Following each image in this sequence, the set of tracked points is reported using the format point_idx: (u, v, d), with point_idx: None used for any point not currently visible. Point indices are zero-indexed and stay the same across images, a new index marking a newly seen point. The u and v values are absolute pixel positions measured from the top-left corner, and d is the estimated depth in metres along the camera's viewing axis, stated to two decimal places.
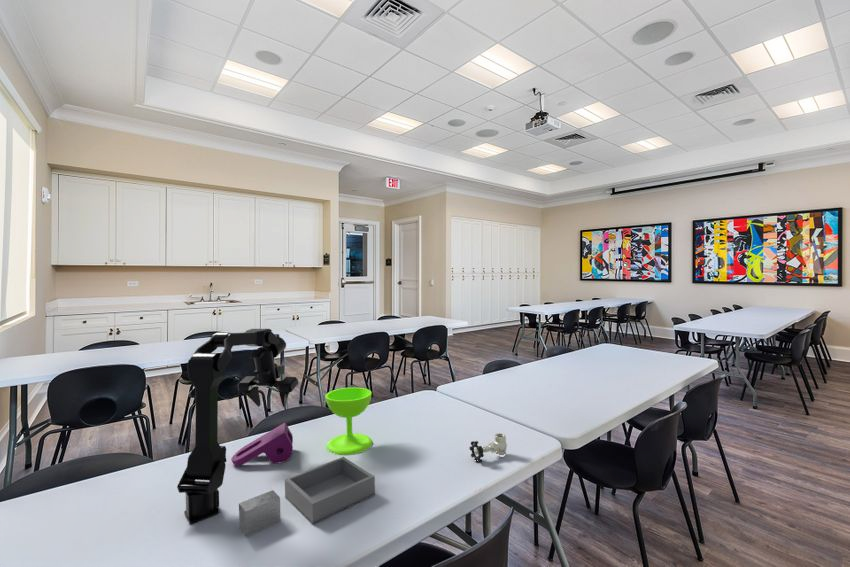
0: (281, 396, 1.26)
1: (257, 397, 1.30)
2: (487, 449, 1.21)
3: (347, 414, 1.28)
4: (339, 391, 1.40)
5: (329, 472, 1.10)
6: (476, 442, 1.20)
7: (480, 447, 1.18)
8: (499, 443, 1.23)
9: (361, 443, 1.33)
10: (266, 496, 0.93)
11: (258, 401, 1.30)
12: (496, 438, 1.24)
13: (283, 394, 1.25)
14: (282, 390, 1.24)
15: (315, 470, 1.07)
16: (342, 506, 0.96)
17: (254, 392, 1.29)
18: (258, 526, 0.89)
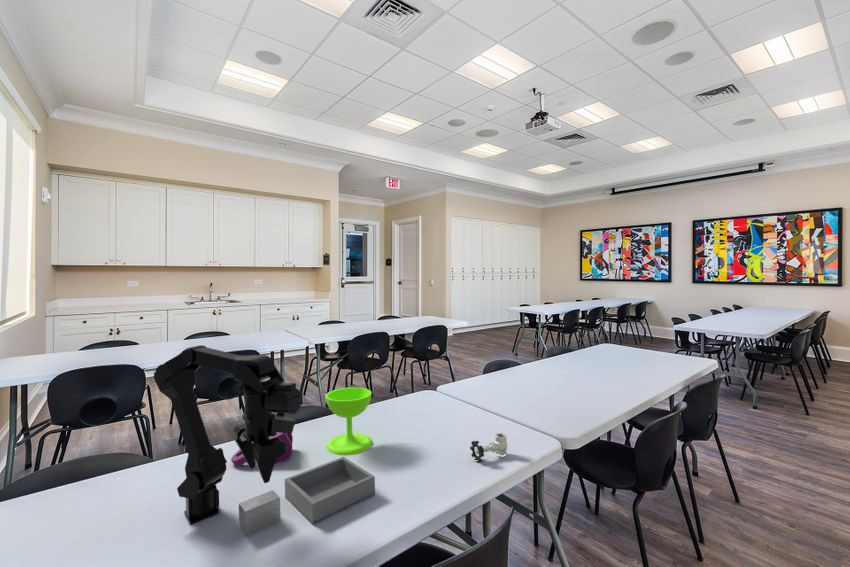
0: (256, 464, 0.85)
1: (251, 454, 0.94)
2: (488, 449, 1.22)
3: (347, 414, 1.28)
4: (339, 391, 1.40)
5: (329, 472, 1.10)
6: (477, 442, 1.20)
7: (481, 447, 1.19)
8: (499, 442, 1.23)
9: (361, 443, 1.33)
10: (265, 496, 0.93)
11: (251, 461, 0.94)
12: (497, 438, 1.24)
13: (256, 461, 0.84)
14: (255, 454, 0.84)
15: (315, 470, 1.07)
16: (342, 506, 0.96)
17: (248, 446, 0.94)
18: (258, 526, 0.89)
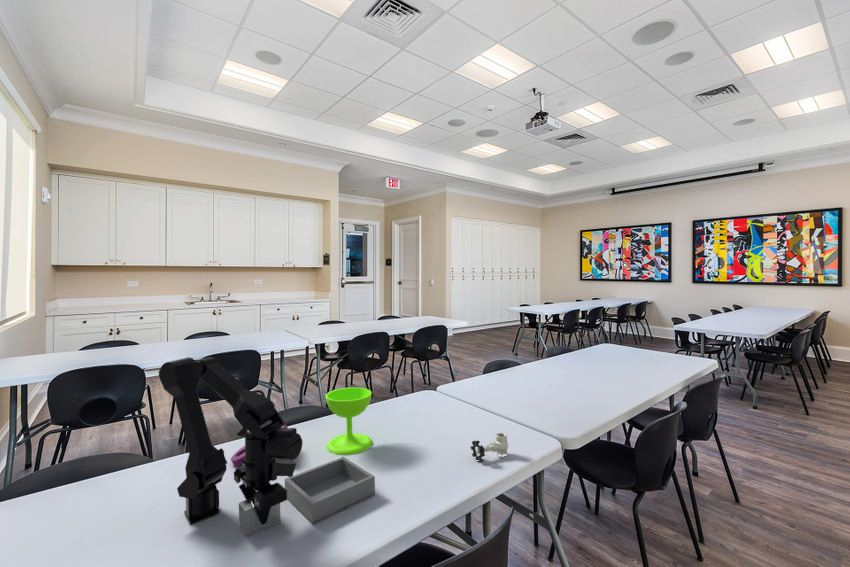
0: (253, 506, 0.87)
1: None
2: (488, 449, 1.22)
3: (347, 414, 1.28)
4: (339, 391, 1.40)
5: (329, 472, 1.10)
6: (477, 441, 1.20)
7: (481, 446, 1.19)
8: (500, 442, 1.23)
9: (361, 443, 1.33)
10: None
11: None
12: (497, 438, 1.24)
13: (253, 505, 0.86)
14: (255, 502, 0.84)
15: (315, 470, 1.07)
16: (342, 506, 0.96)
17: (252, 492, 0.93)
18: (258, 525, 0.89)
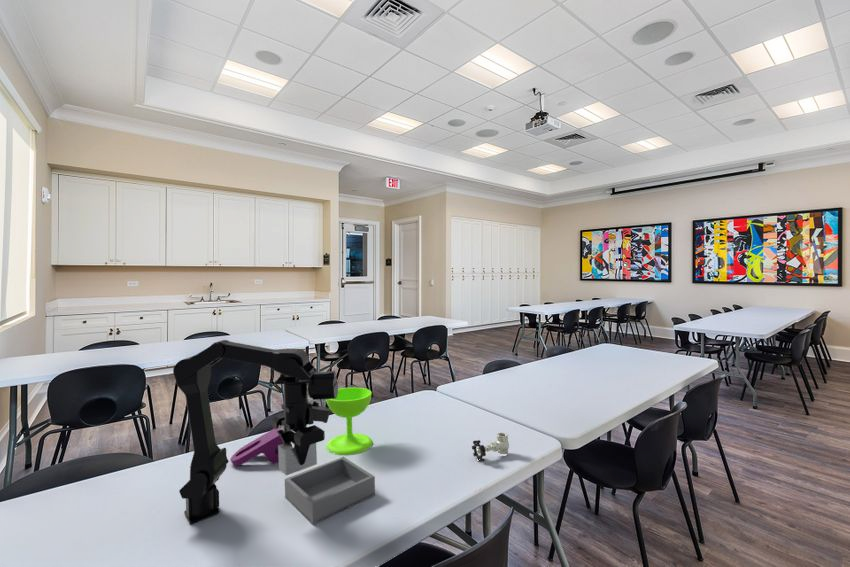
0: (293, 447, 0.93)
1: None
2: (489, 448, 1.22)
3: (347, 414, 1.28)
4: (339, 391, 1.40)
5: (329, 472, 1.10)
6: (478, 441, 1.21)
7: (482, 446, 1.19)
8: (501, 442, 1.24)
9: (361, 443, 1.33)
10: None
11: None
12: (498, 437, 1.24)
13: (293, 444, 0.92)
14: (296, 441, 0.90)
15: (315, 470, 1.07)
16: (342, 506, 0.96)
17: (289, 436, 0.98)
18: (297, 466, 0.94)
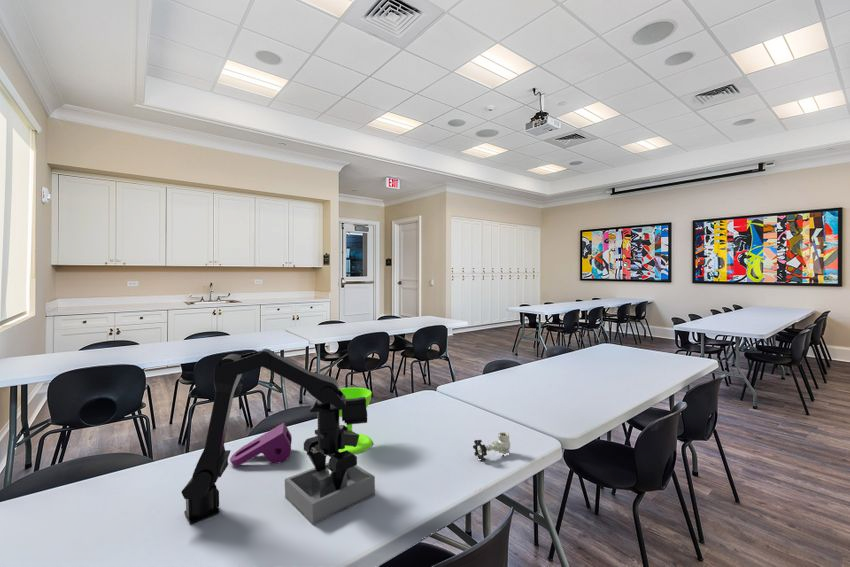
0: (330, 473, 0.97)
1: (321, 465, 1.06)
2: (490, 448, 1.22)
3: None
4: None
5: None
6: (479, 441, 1.21)
7: (483, 446, 1.19)
8: (502, 442, 1.24)
9: (361, 443, 1.33)
10: None
11: None
12: (499, 437, 1.24)
13: (331, 471, 0.96)
14: (331, 466, 0.96)
15: (315, 470, 1.07)
16: (342, 506, 0.96)
17: (318, 458, 1.05)
18: None
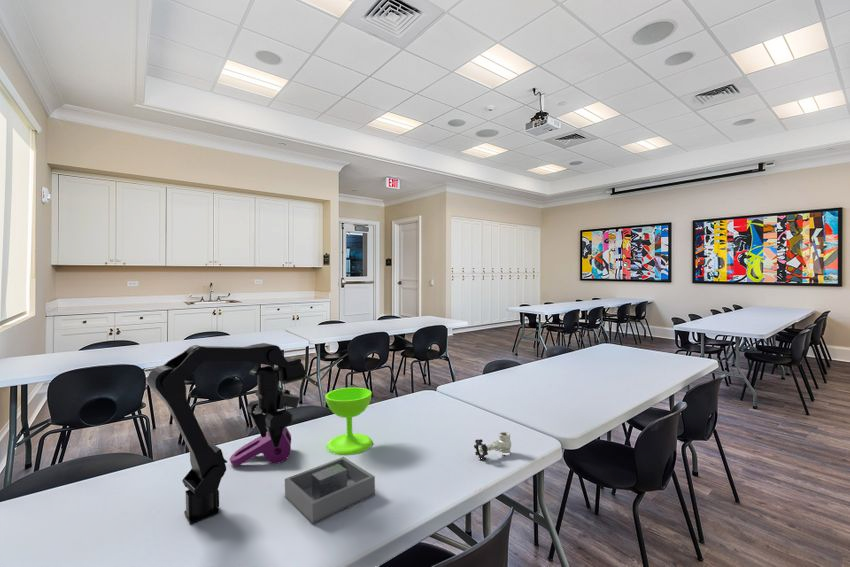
0: (267, 430, 1.04)
1: (263, 425, 1.13)
2: (491, 447, 1.23)
3: (347, 414, 1.28)
4: (339, 391, 1.40)
5: None
6: (480, 440, 1.21)
7: (484, 445, 1.20)
8: (503, 441, 1.24)
9: (361, 443, 1.33)
10: (334, 468, 1.04)
11: (263, 431, 1.13)
12: (500, 437, 1.25)
13: (268, 428, 1.03)
14: (266, 422, 1.03)
15: (315, 470, 1.07)
16: (342, 506, 0.96)
17: (260, 418, 1.13)
18: None
